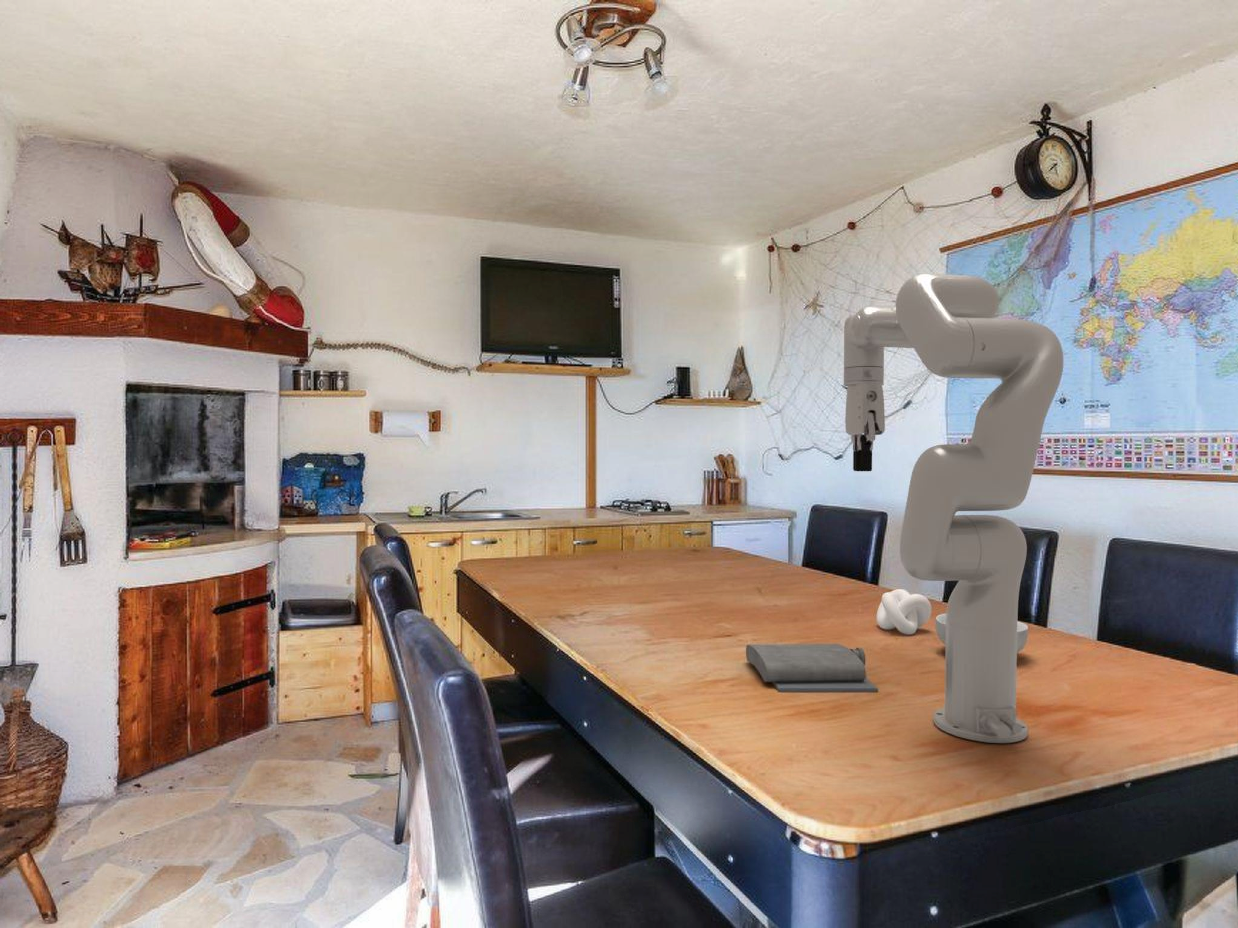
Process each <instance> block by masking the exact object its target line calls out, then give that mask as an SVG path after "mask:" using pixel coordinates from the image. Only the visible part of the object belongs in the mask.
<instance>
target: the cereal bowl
mask: <svg viewBox="0 0 1238 928" xmlns="http://www.w3.org/2000/svg"><path fill="white" fill-rule="evenodd" d="M934 622H935V632H936V635H937V637H938V639H939V640H940V641H941V642H942V644H943V645H945V646H946V613H941V614H939V615H937V616H936V617H935V621H934ZM1028 635H1029V627H1028V625H1027V624H1026V623H1023V622H1020V621H1017V654H1019V652H1021V651H1022V650H1023V649H1024V648H1025V647H1026V644H1027V640H1028V637H1029V636H1028Z"/></svg>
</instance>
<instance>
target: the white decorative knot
mask: <svg viewBox="0 0 1238 928" xmlns="http://www.w3.org/2000/svg"><path fill="white" fill-rule="evenodd" d="M931 615H932V605H931V602H930V600H929V599H928V598H927V597H926V596H925V595H922V594H919V593H910V592H908V591H907V590H906V589H902V588H897V589H894V590H892V591H888V592H885V593H882V595H881V602H880V603H879V606H878V608H877V611H876V617H875V618H876V623H877V625H878V627H880V628H881V629H883V630H886V631H888V630H890V631H891V630H894V629H895V628H896V629H897V630H898V631H899V633H901V634H904V635H907V636H910V635H914V634H915V633H916V632H917V630H918V629H919V628H921V627H923V626H924V625H925V624H926V623H927V622H928V621H929V620H930V617H931Z"/></svg>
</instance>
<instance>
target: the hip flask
mask: <svg viewBox="0 0 1238 928" xmlns="http://www.w3.org/2000/svg"><path fill="white" fill-rule="evenodd" d="M745 658H746V661H747V662H748V663H751V664H752V665H753V666H754V667H755V668H756V670H757V671H758V672H759V674H760V676H761V678H762V680H763V682H764V683H772V682H811V681H864V680H865V677H866V676H867V672H866V671H867V670H866V667H865V665H866V654H865V650H864V649H863V648H862V647H856V648H848V647H847V646H845V645H843V644H839V643H801V644H800V643H799V644H798V643H794V644H793V643H789V644H784V643H783V644H781V643H780V644H778V643H777V644H776V643H775V644H773V643H772V644H766V643H765V644H747V645H746V647H745ZM866 678H867V677H866Z"/></svg>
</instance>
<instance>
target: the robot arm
mask: <svg viewBox="0 0 1238 928" xmlns="http://www.w3.org/2000/svg"><path fill="white" fill-rule="evenodd" d="M999 298H1000V297H999V294H998V291H997V289H996V288H995V286H994V285H993V284H992V283H991V282H989V281H988V280H986V279H984V278H982V277H979V276H975V275H968V274H967V275H966V274H950V273H949V274H945V273H921V274H916V275H913V276H912V277H910V278H908V280H906V281H905V282H904V283H903V284H902V286H901V287H900V289H899V291H898V292H897V296H896V301H895V306H889V305H888V306H881V305H872V306H871V305H870V306H869V305H868V306H864V307H862V308H860V309H859V310H858V311H857V312H856V314H852V315H849V316H848V317H847V318H846V319H845V321H844V325H843V328H844V329H843V338H844V339H843V387H846V388H847V389H846V399H845V402H846V403H845V418H844V419H845V432H846V434H848V436H851V437H850V439H851V442H852V450H853V451H852V452H853V453H852V454H853V455H852V457H853V459H852V469H853V471H854V472H872V471H873V449H874V447H873V446H874V441H875V440H876V436H879V435H883V434H884V433H885V431H886V421H885V419H886V418H885V400H884V399H885V398H884V396H885V395H884V389H883V386H884V383H885V381H884V380H885V375H884V374H885V373H884V372H885V368H884V367H885V348H898V349H899V348H900V349H901V348H902V349H914V351H915V352H916V354H917V355H918V358H919V359H920V361H921V362H922V364H923V365H924V367H925V368H926V369H927V370H928V371H929V372H930V373H932V374H934V375H935V376H937V377H941V378H946V379H947V378H948V379H949V378H950V379H980V380H981V379H1000V381H1001V383H1000V384H999V385H998V386H997V387H996V388H994V390H993V391H991V393H989V395H987V397H986V398H985V400H984V401H983V402H982V404H981V405H980V407H979V409H978V411H977V413H976V416H975V422H974V427H973V431H972V435H971V438H970V440H969V441H968V442H967V443H965V444H963V443H962V444H961V443H960V444H957V443H955V444H954V443H952V444H951V443H949V444H948V443H947V444H945V443H944V444H938V445H934V446H931V447H929V448H927V449H925V450H924V451H923V452H922V453H921V454H920V455H919V457H918V458H917V460H916V462H915V464H914V466H913V469H912V472H911V476H910V479H909V480H910V481H909V485H908V486H909V487H908V492H907V496H906V503H905V510H904V514H903V521H902V527H901V533H900V537H899V538H900V540H899V555H900V561H901V564H902V566H903V568H904V570H905V571H906V573H907V574H908V575H909V576H911V577H913V578H914V579H915V580H920V581H925V582H926V581H927V582H929V581H931V582H935V581H936V582H946V581H950V582H952V581H954V582H955V581H957V583H956V585H955V587H954V588H953V590H952V592H951V594H950V596H949V599H948V601H947V604H946V605H947V606H946V645H945V662H944V663H945V664H944V667H945V671H944V673H945V674H944V675H945V676H944V679H945V680H944V707H942V708H939V709H937V710H936V711H934V713H933V723H934V724H935V726H936V727H937V728H939V729H940V730H942V731H943V732H945V733H948V734H949V735H952V736H955V737H959V738H961V739H966V740H970V741H974V742H982V743H989V744H991V743H992V744H1011V743H1018V742H1020V741H1022V740H1025V739H1026V738H1027V737H1028V731H1029V729H1028V725H1027V724H1026V723H1025V722H1024V721H1022V720H1021V719H1020V718H1018V717H1017V670H1018V669H1017V666H1018V665H1017V662H1018V661H1017V660H1018V656H1017V655H1018V653H1017V621H1018V613H1019V612H1018V611H1019V597H1020V596H1019V595H1020V588H1021V581H1022V577H1023V572H1024V569H1025V564H1026V559H1027V553H1028V552H1027V549H1028V545H1027V539H1026V536H1025V534H1024V532H1023V531H1022V528H1021V527H1020V526H1019V525H1017V524H1016V523H1015V522H1014V521H1013V520H1010V519H1009V518H1007V517H1004V516H998V515H993V514H958V515H956V513H957V512H994V511H995V512H996V511H997V512H998V511H1008V510H1012V509H1015V508H1018V507H1020V505H1022V504H1023V503H1024V501H1025V500H1026V497H1027V495H1028V491H1029V489H1030V484H1031V481H1032V477H1033V472H1034V467H1035V466H1036V459H1037V455H1038V451H1039V446H1040V442H1041V438H1042V433H1043V428H1044V425H1045V420H1046V417H1047V415H1048V413H1049V410H1050V408H1051V405H1052V403H1053V400H1054V398H1055V397H1056V394H1057V392H1058V389H1059V386H1060V383H1061V381H1062V375H1063V372H1064V351H1063V348H1062V344H1061V342H1060V340H1059V338H1058V336H1057V335H1056V334H1055V332H1054V331H1053V330H1052V329H1050V328H1049V327H1047V326H1045V325H1043V324H1042V323H1038V322H1035V321H1032V320H1027V319H1026V320H1025V319H1019V318H1018V319H1017V318H999V317H998V318H996V317H995V318H994V316H995V315H996V314H997V311H998V308H999V306H1000V305H999V304H1000V299H999Z"/></svg>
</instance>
